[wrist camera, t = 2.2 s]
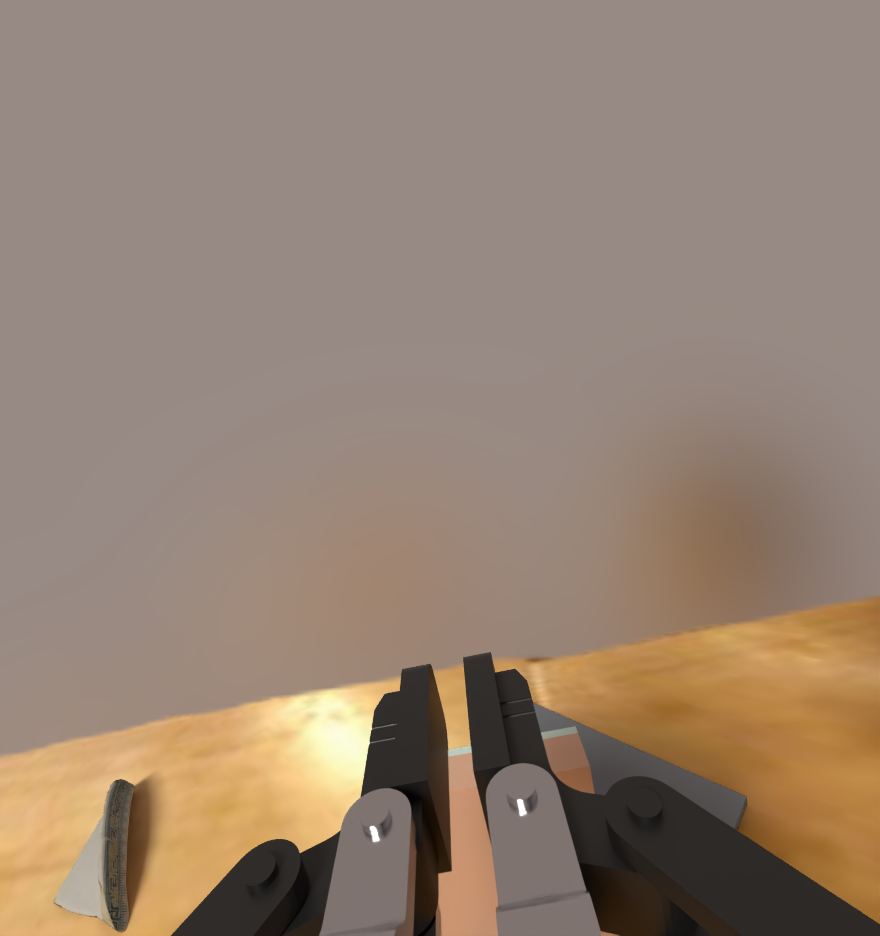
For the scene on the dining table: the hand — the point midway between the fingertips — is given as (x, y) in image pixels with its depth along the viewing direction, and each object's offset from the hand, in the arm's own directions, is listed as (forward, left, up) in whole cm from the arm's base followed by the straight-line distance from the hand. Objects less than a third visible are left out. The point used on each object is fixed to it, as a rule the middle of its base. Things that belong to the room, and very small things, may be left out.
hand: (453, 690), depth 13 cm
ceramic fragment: (+8, -35, -25) cm, 44 cm away
